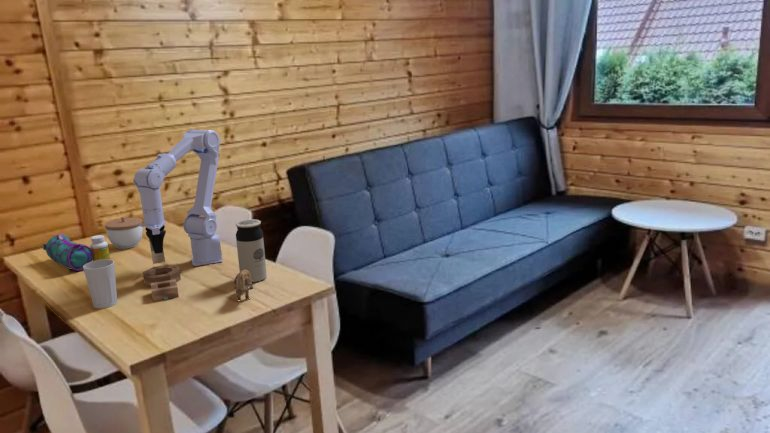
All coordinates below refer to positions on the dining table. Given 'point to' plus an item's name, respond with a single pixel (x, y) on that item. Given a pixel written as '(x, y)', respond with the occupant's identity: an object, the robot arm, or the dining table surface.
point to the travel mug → (251, 248)
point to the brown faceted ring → (161, 274)
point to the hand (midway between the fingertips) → (158, 251)
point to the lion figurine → (243, 283)
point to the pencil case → (68, 252)
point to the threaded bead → (164, 290)
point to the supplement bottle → (99, 248)
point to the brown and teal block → (157, 255)
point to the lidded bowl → (124, 232)
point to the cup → (101, 282)
